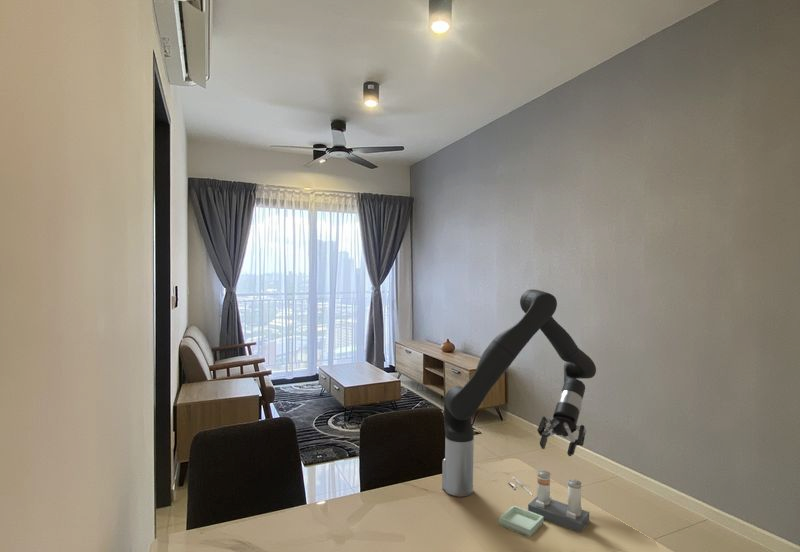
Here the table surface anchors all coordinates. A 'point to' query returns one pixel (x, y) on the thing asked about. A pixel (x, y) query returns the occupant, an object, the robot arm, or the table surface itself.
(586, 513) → the fuse holder
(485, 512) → the table surface
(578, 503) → the plain fuse
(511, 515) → the tray
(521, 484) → the picture light
